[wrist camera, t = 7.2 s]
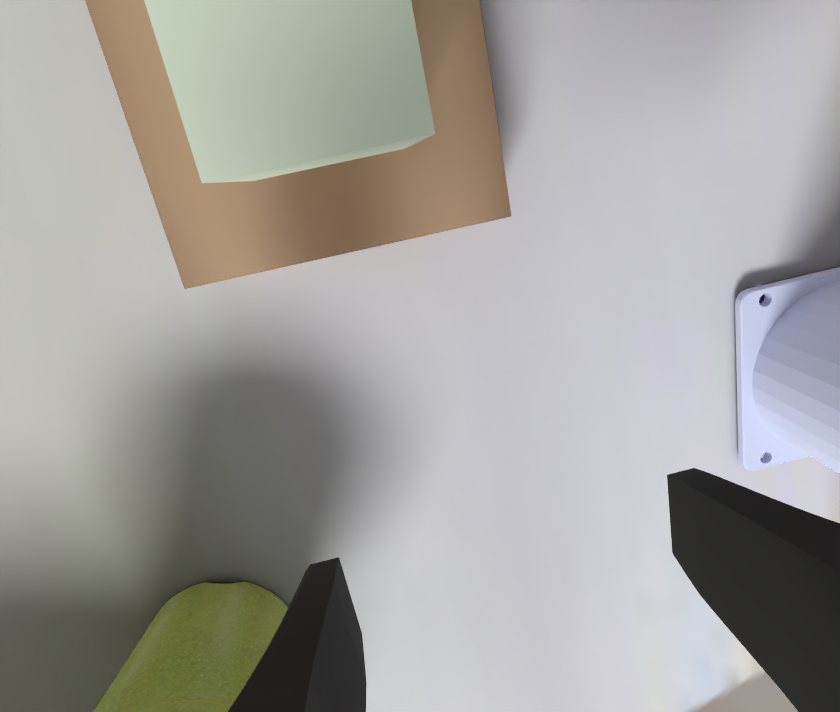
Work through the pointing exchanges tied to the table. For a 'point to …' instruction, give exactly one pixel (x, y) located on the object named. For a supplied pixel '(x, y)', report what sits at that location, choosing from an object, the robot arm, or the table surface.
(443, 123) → the walnut slab
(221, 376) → the table surface
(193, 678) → the plant pot
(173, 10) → the sage block
